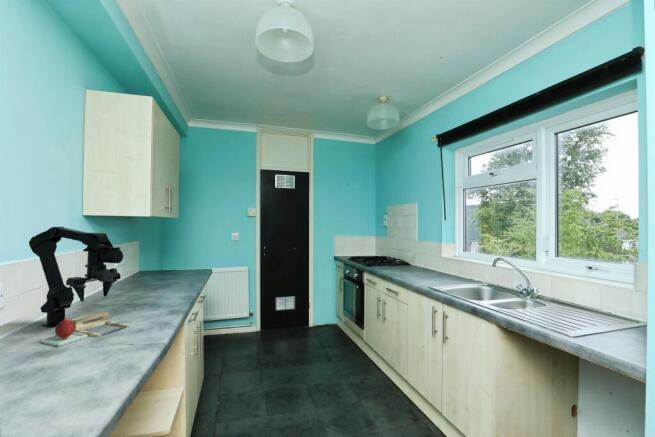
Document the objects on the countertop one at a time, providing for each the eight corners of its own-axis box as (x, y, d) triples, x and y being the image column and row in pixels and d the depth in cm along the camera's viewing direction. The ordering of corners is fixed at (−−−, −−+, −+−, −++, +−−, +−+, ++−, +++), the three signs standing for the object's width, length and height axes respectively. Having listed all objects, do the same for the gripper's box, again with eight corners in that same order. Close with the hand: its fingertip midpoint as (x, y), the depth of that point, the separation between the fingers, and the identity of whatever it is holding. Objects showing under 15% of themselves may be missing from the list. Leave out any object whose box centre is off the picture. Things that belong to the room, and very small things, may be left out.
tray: (41, 342, 112) (41, 339, 112) (70, 334, 121) (70, 331, 121) (59, 346, 109) (59, 343, 109) (87, 337, 118) (87, 334, 118)
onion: (62, 342, 112) (63, 320, 112) (50, 340, 113) (51, 319, 113) (78, 337, 118) (79, 316, 118) (67, 335, 119) (67, 314, 119)
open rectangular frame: (70, 332, 124) (71, 319, 124) (103, 322, 136) (103, 311, 136) (97, 337, 119) (98, 324, 119) (129, 326, 132) (129, 315, 132)
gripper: (84, 266, 119) (82, 306, 119) (130, 261, 136) (128, 296, 136) (66, 264, 123) (64, 303, 122) (112, 259, 140) (111, 293, 140)
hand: (94, 298), depth 130 cm, fingers open, 9 cm apart
